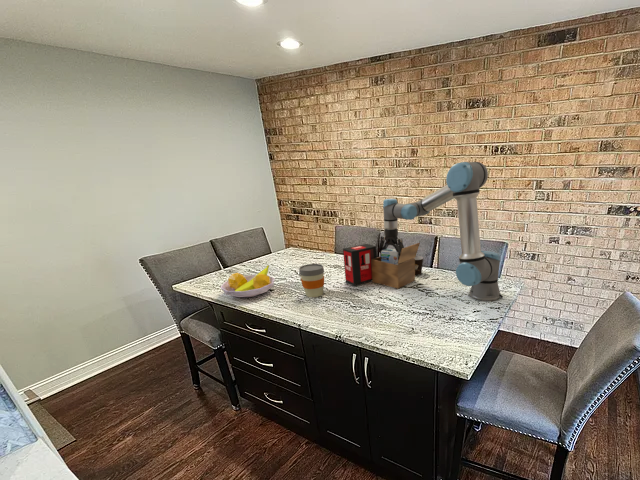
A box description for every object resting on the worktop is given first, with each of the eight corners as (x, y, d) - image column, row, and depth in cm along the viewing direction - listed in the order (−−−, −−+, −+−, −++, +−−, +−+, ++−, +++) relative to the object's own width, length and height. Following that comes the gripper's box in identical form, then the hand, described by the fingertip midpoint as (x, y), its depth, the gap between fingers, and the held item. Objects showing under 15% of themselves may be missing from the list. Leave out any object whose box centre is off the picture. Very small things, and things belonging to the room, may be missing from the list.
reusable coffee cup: (318, 288, 187) (315, 262, 182) (331, 293, 179) (328, 267, 173) (298, 294, 179) (294, 267, 174) (310, 300, 171) (306, 272, 165)
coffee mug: (425, 272, 209) (425, 257, 206) (418, 276, 203) (418, 260, 199) (409, 269, 215) (409, 254, 211) (402, 273, 209) (402, 258, 205)
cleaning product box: (368, 275, 206) (366, 243, 198) (377, 279, 199) (376, 246, 192) (345, 282, 196) (342, 248, 188) (354, 286, 190) (351, 251, 182)
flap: (414, 257, 191) (415, 257, 191) (397, 263, 179) (398, 264, 179) (419, 242, 185) (420, 242, 185) (402, 248, 174) (402, 248, 174)
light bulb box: (381, 269, 192) (380, 250, 188) (386, 266, 198) (385, 248, 194) (398, 271, 188) (398, 252, 184) (403, 267, 194) (402, 249, 190)
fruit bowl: (237, 306, 165) (232, 285, 161) (215, 293, 182) (210, 273, 178) (288, 290, 184) (285, 271, 180) (264, 280, 201) (261, 262, 197)
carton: (414, 280, 196) (415, 258, 191) (398, 288, 185) (397, 265, 179) (389, 274, 207) (389, 253, 202) (372, 282, 195) (371, 259, 190)
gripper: (412, 229, 180) (412, 268, 189) (379, 225, 194) (380, 261, 202) (404, 231, 175) (404, 271, 183) (370, 227, 188) (372, 264, 197)
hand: (392, 266), depth 193 cm, fingers closed on light bulb box, 11 cm apart
